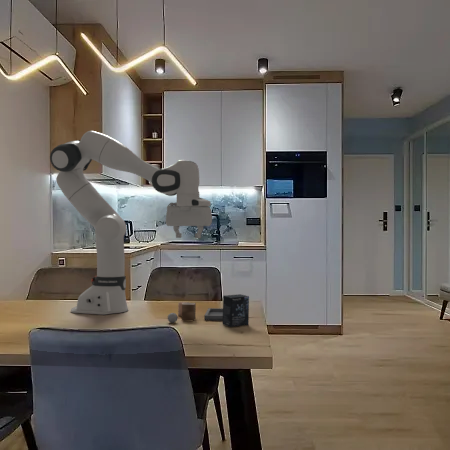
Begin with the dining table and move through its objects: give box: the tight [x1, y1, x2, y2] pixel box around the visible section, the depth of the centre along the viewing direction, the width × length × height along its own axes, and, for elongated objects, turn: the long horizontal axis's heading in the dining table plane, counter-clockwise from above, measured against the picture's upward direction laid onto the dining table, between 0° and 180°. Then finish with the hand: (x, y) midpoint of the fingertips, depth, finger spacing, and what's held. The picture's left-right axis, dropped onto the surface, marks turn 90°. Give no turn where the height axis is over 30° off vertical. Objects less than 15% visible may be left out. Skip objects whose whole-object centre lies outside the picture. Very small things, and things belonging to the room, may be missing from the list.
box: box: [222, 293, 250, 328], centre depth 186 cm, size 8×6×11 cm
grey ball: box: [167, 312, 179, 324], centre depth 188 cm, size 4×4×4 cm
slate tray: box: [203, 307, 223, 322], centre depth 201 cm, size 14×16×2 cm
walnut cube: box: [181, 302, 196, 322], centre depth 195 cm, size 4×4×6 cm
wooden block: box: [177, 301, 190, 317], centre depth 203 cm, size 4×4×5 cm
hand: (188, 238), depth 200 cm, fingers open, 8 cm apart
